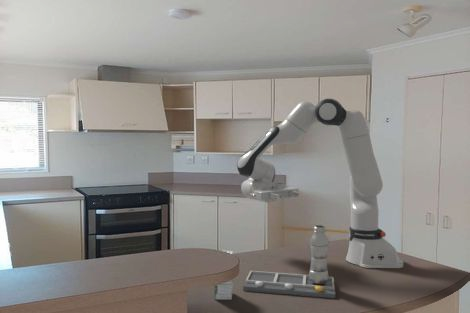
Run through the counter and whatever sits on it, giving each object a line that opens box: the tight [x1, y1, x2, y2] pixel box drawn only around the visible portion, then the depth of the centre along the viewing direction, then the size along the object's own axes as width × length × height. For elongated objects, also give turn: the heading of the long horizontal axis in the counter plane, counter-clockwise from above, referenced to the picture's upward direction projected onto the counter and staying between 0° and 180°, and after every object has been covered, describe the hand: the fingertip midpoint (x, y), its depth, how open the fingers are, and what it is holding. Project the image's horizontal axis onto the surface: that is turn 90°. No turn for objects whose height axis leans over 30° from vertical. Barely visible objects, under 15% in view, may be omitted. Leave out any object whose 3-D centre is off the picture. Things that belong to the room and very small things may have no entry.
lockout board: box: [242, 270, 336, 299], centre depth 137 cm, size 30×14×3 cm, turn 78°
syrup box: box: [213, 250, 234, 301], centre depth 128 cm, size 6×6×14 cm
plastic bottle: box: [308, 224, 330, 284], centre depth 136 cm, size 6×7×20 cm
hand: (289, 195), depth 157 cm, fingers open, 8 cm apart
